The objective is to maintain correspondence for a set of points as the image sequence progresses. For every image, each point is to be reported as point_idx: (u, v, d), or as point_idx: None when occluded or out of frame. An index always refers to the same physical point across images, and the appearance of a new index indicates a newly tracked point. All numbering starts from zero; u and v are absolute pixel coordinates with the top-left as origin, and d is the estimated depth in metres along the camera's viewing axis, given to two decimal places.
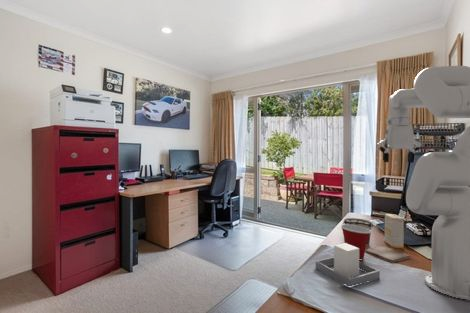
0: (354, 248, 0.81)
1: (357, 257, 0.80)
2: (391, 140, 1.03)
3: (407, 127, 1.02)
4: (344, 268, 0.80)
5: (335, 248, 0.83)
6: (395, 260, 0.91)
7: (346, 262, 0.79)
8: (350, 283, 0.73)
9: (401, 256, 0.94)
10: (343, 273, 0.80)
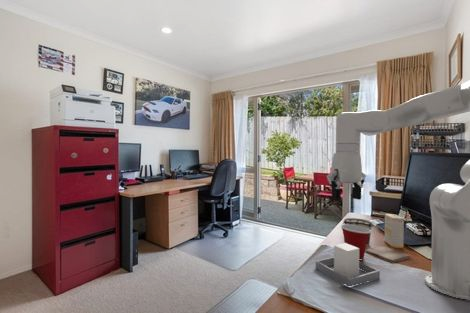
0: (354, 248, 0.81)
1: (357, 257, 0.80)
2: None
3: None
4: (344, 268, 0.80)
5: (335, 248, 0.83)
6: (395, 260, 0.91)
7: (346, 262, 0.79)
8: (350, 283, 0.73)
9: (401, 256, 0.94)
10: (343, 273, 0.80)
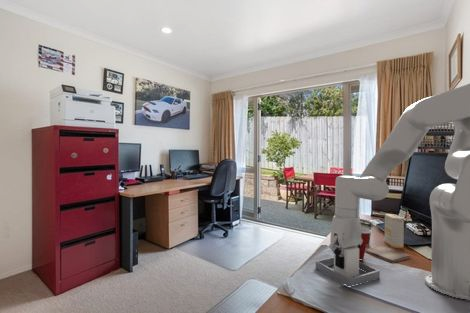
0: (354, 248, 0.81)
1: (357, 257, 0.80)
2: None
3: None
4: (344, 268, 0.80)
5: None
6: (395, 260, 0.91)
7: (346, 262, 0.79)
8: (350, 283, 0.73)
9: (401, 256, 0.94)
10: (343, 273, 0.80)
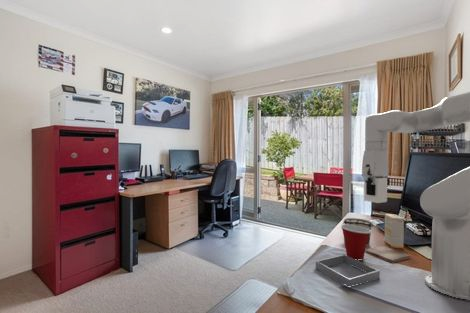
0: (383, 178, 0.91)
1: (385, 185, 0.91)
2: None
3: None
4: None
5: None
6: (395, 260, 0.91)
7: (377, 189, 0.89)
8: (350, 283, 0.73)
9: (401, 256, 0.94)
10: (374, 199, 0.90)
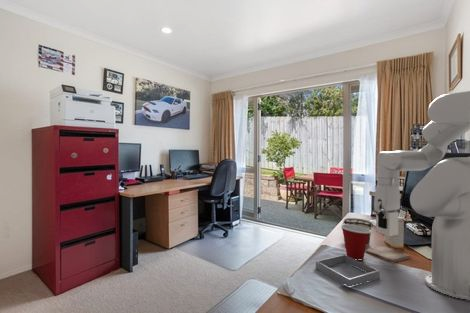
0: (394, 211, 0.96)
1: (397, 219, 0.96)
2: None
3: None
4: None
5: None
6: (395, 260, 0.91)
7: (388, 222, 0.94)
8: (350, 283, 0.73)
9: (401, 256, 0.94)
10: (385, 232, 0.95)
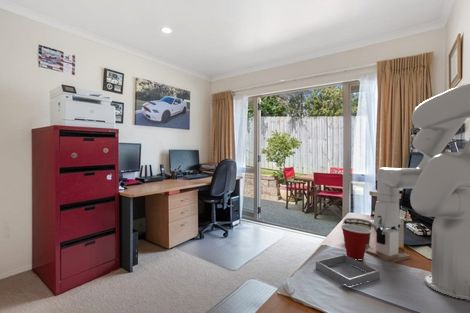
0: (394, 231, 0.96)
1: (397, 238, 0.96)
2: None
3: None
4: (386, 247, 0.95)
5: None
6: (395, 260, 0.91)
7: (388, 242, 0.94)
8: (350, 283, 0.73)
9: (401, 256, 0.94)
10: (385, 252, 0.95)
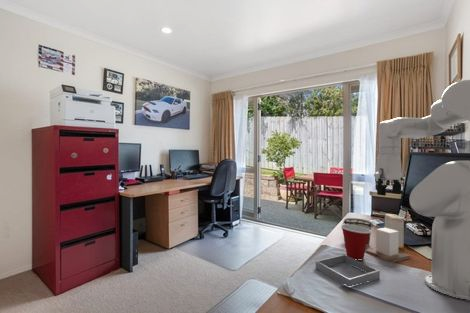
0: (394, 231, 0.96)
1: (397, 238, 0.96)
2: None
3: None
4: (386, 247, 0.95)
5: (377, 231, 0.98)
6: (395, 260, 0.91)
7: (388, 242, 0.94)
8: (350, 283, 0.73)
9: (401, 256, 0.94)
10: (385, 252, 0.95)
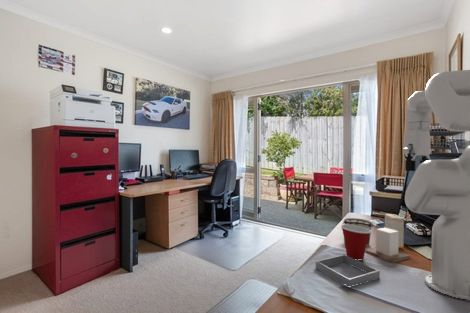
0: (394, 231, 0.96)
1: (397, 238, 0.96)
2: None
3: None
4: (386, 247, 0.95)
5: (377, 231, 0.98)
6: (395, 260, 0.91)
7: (388, 242, 0.94)
8: (350, 283, 0.73)
9: (401, 256, 0.94)
10: (385, 252, 0.95)
